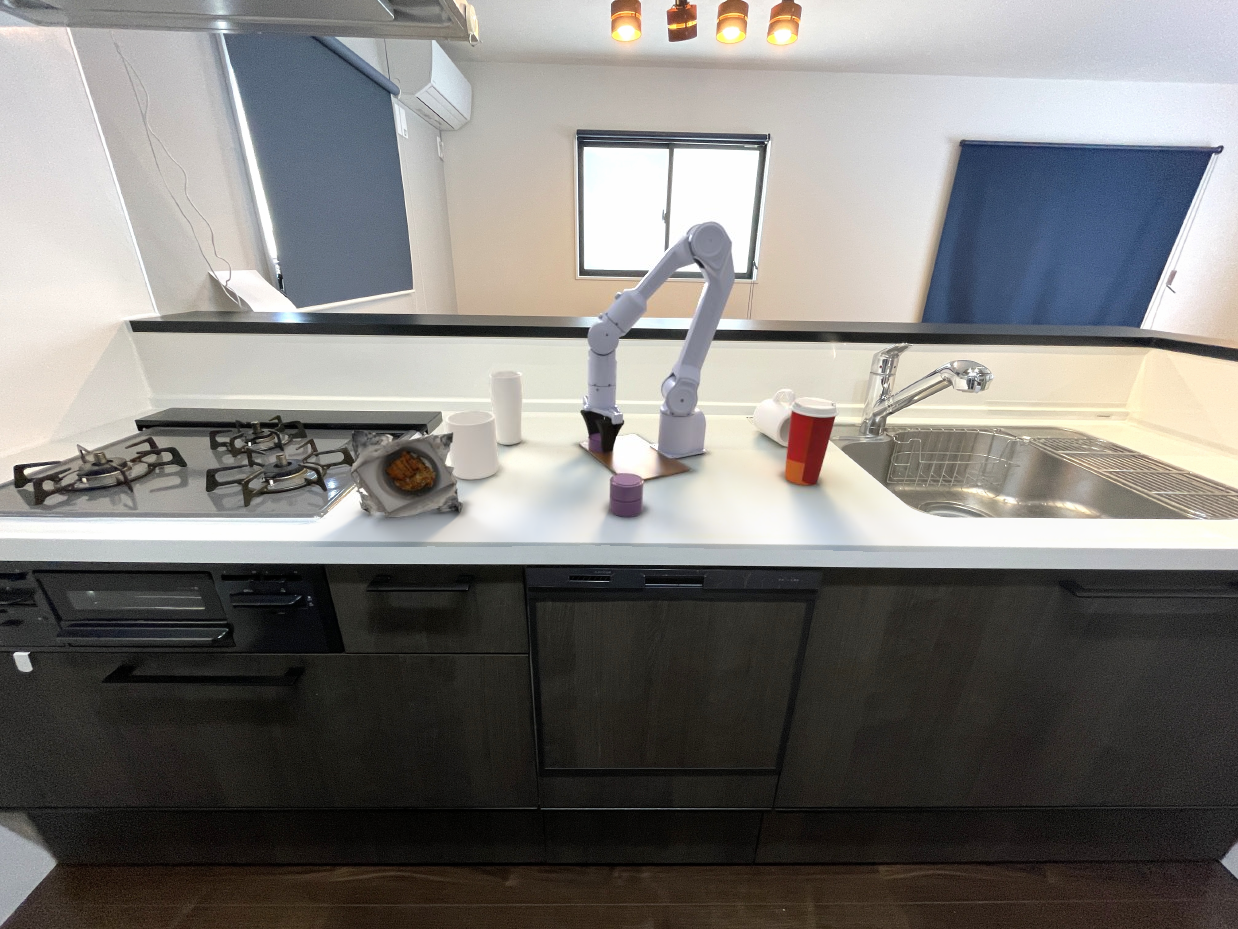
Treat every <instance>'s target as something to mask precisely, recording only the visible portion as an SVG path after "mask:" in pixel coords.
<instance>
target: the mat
mask: <svg viewBox="0 0 1238 929" xmlns="http://www.w3.org/2000/svg"><path fill="white" fill-rule="evenodd" d="M650 445H652V444H651V443H650V442H648V441H647V440H645V439H643V438H642V437H640V436H639V435H637V434H635V433H632V434H625V435H619V436H617V438H616V441H615V445H614V449H613V451H611V452H608V453H594V452H591V451H590V450H589V449H588V441H583V442H578V446H580V447H581V448H583V449H584V450H585V451H586V452H588V454H590V455H591V456H592V457H594V458H595V459H597V461H598V462H600V463H601V464H603V465H604V466H605V467H606V468H607V469H609V470H610V471H611V472H612V473H614V475H616V474H620V473H631V474H636V475H638V476H640V477H642V478H643V482H645V481H650V480H653V479H659V478H663V477H668V476H673V475H678V474H683V473H686V472H687V473H688V472H691V471H692V469H691V468H690V467H688V466H687V465H685V464H684V463H682V462H681V461H679V460H678V459H677V458H676V459H674V458H672V459H669V458H667V457H666V456H664V455H662V454H661V453H659V452H658V451H656V450H654V449H653V448H651V447H650Z"/></svg>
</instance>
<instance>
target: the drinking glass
mask: <svg viewBox="0 0 1238 929" xmlns="http://www.w3.org/2000/svg"><path fill="white" fill-rule="evenodd" d="M488 387H489V397H490V403H491V409H492V413H493V414H494V415H495V424H496V437H497V443H498V444H500V445H504V446H512V445H513V446H514V445H517V444H519V443H521V441H522V440H523V435H522V433H523V432H522V429H523V428H522V427H523V426H522V425H523V395H524V394H523V393H524V392H523V377H522V373H521V372H520V371H517V370H495V371H491V372H489V373H488Z"/></svg>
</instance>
